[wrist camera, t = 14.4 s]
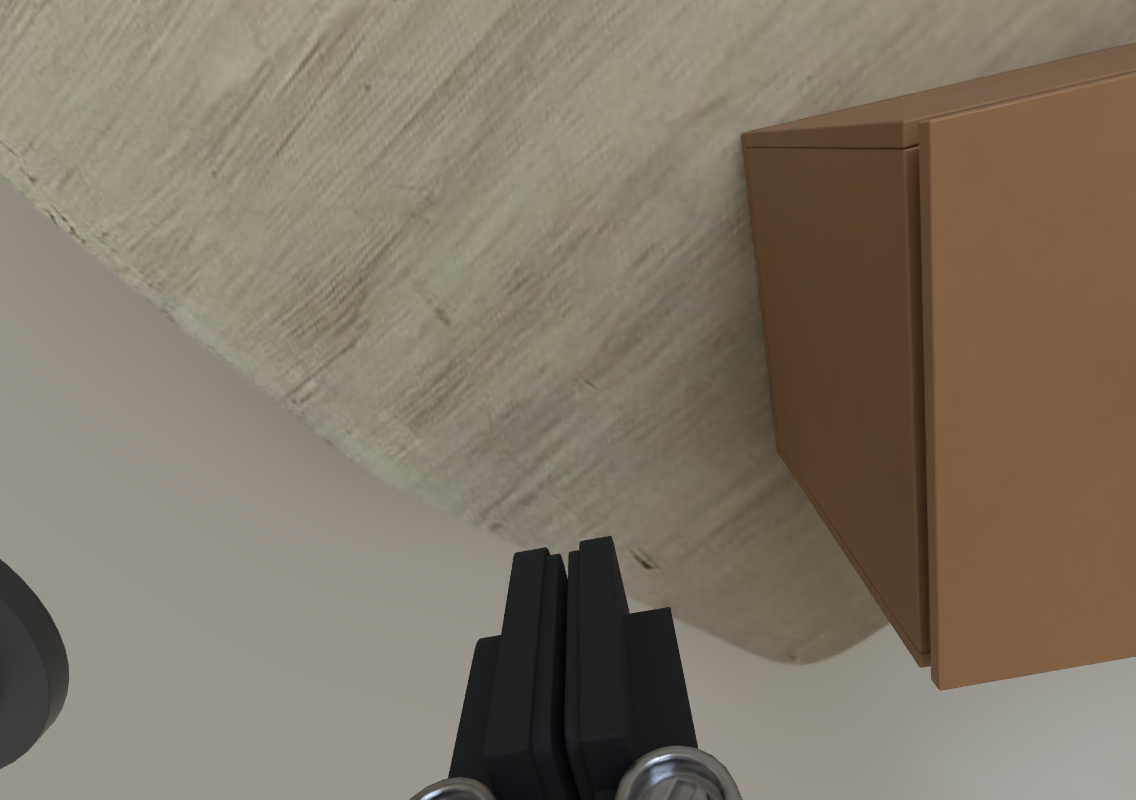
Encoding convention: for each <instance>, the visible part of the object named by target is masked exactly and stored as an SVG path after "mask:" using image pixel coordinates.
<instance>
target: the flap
mask: <svg viewBox="0 0 1136 800" xmlns="http://www.w3.org/2000/svg"><path fill="white" fill-rule="evenodd" d="M918 128H919V171H920V214H921V257H922V300H923V344H924V387H925V430H926V473H927V516H928V559H929V602H930V645H931V679H932V681H933V682H934V683H935V685H936V686H937V688H938V689H939V690H946V689H952V688H958V687H963V686H969V685H975V684H981V683H986V682H992V681H997V680H1003V679H1009V678H1015V677H1021V676H1026V675H1032V674H1038V673H1044V672H1049V671H1055V670H1060V669H1067V668H1072V667H1078V666H1084V665H1090V664H1095V663H1101V662H1107V661H1112V660H1118V659H1124V658H1130V657H1136V72H1134V73H1129V74H1125V75H1120V76H1116V77H1112V78H1107V79H1103V80H1099V81H1094V82H1090V83H1085V84H1081V85H1077V86H1072V87H1068V88H1064V89H1059V90H1055V91H1050V92H1046V93H1042V94H1037V95H1033V96H1029V97H1024V98H1020V99H1015V100H1011V101H1007V102H1002V103H998V104H993V105H989V106H985V107H980V108H976V109H972V110H967V111H963V112H958V113H954V114H950V115H945V116H941V117H937V118H932V119H928V120H923V121H921V122H919V124H918Z"/></svg>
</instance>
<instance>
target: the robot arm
mask: <svg viewBox="0 0 1136 800" xmlns="http://www.w3.org/2000/svg"><path fill="white" fill-rule="evenodd" d="M410 800H742V797H741V796H740V793H739V790H738V788H737V785H736V783H735V781H734V780H733V778H732V776H731V775H730V773H729V772H728V770H727V768H726V767H725V766H724V765H723V764H722V763H720V762H719V761H718V760H717V759H716V758H715V757H713V756H712V755H710V754H708V753H706V752H704V751H701V750H699V749H698V745H697V740H696V735H695V730H694V725H693V720H692V715H691V709H690V704H689V700H688V694H687V689H686V684H685V679H684V674H683V669H682V664H681V659H680V654H679V649H678V644H677V639H676V634H675V629H674V624H673V619H672V614H671V609H670V607H667V608H661V609H655V610H649V611H643V612H637V613H631V614H630V613H629V608H628V604H627V600H626V595H625V591H624V586H623V582H622V578H621V573H620V569H619V564H618V560H617V556H616V551H615V547H614V543H613V539H612V536H607V537H601V538H595V539H590V540H584V541H580V545H579V550H577V551H571V552H569V561H568V578H567V575H566V571H565V567H564V563H563V560H562V557H561V555H560V554H554V555H550V553H549V550H548V549H547V548H546V547H545V548H539V549H534V550H528V551H523V552H517V553H515V554H514V558H513V564H512V570H511V576H510V583H509V589H508V595H507V601H506V608H505V614H504V621H503V626H502V633H501V635H498V636H492V637H486V638H481V639H479V640H478V642H477V644H476V647H475V651H474V656H473V660H472V665H471V670H470V675H469V680H468V685H467V689H466V694H465V699H464V704H463V709H462V713H461V719H460V723H459V728H458V733H457V738H456V742H455V747H454V752H453V757H452V762H451V767H450V771H449V776H448V779H444V780H441V781H439V782H437V783H434V784H432V785H430V786H427V787H426V788H424V789H423V790H422V791H420V792H419V793H418V794H416V795H415V796H413V797H412V798H411V799H410Z"/></svg>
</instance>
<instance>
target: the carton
mask: <svg viewBox="0 0 1136 800" xmlns="http://www.w3.org/2000/svg"><path fill="white" fill-rule="evenodd" d="M1134 72H1136V43H1133V44H1128V45H1122V46H1117V47H1113V48H1109V49H1104V50H1100V51H1096V52H1091V53H1087V54H1083V55H1078V56H1074V57H1070V58H1065V59H1061V60H1056V61H1052V62H1048V63H1043V64H1039V65H1035V66H1030V67H1026V68H1022V69H1017V70H1013V71H1009V72H1004V73H1000V74H996V75H991V76H987V77H983V78H978V79H974V80H970V81H965V82H961V83H957V84H952V85H948V86H944V87H939V88H935V89H930V90H926V91H922V92H917V93H913V94H909V95H904V96H900V97H896V98H891V99H887V100H883V101H878V102H874V103H870V104H865V105H861V106H857V107H852V108H848V109H844V110H839V111H835V112H831V113H826V114H822V115H817V116H813V117H809V118H804V119H800V120H796V121H791V122H787V123H783V124H778V125H774V126H770V127H765V128H761V129H757V130H752V131H748V132H744V133H742V135H741V136H742V144H743V153H744V162H745V171H746V180H747V188H748V197H749V206H750V215H751V224H752V232H753V241H754V250H755V259H756V268H757V276H758V285H759V294H760V303H761V312H762V320H763V329H764V338H765V347H766V356H767V364H768V373H769V382H770V391H771V400H772V409H773V417H774V426H775V435H776V444H777V452H778V453H779V455H780V456H781V458H782V459H783V461H784V462H785V464H786V465H787V467H788V468H789V470H790V471H791V473H792V475H793V476H794V478H795V479H796V481H797V482H798V484H799V485H800V487H801V488H802V490H803V491H804V493H805V494H806V496H807V497H808V499H809V500H810V502H811V503H812V505H813V506H814V508H815V509H816V511H817V512H818V514H819V515H820V517H821V518H822V520H823V522H824V523H825V525H826V526H827V528H828V529H829V531H830V532H831V534H832V535H833V537H834V538H835V540H836V541H837V543H838V544H839V546H840V547H841V549H842V550H843V552H844V553H845V555H846V556H847V558H848V559H849V561H850V562H851V564H852V566H853V567H854V569H855V570H856V572H857V573H858V575H859V576H860V578H861V579H862V581H863V582H864V584H865V585H866V587H867V588H868V590H869V591H870V593H871V594H872V596H873V597H874V599H875V600H876V602H877V603H878V605H879V606H880V608H881V609H882V611H883V613H884V614H885V616H886V617H887V619H888V620H889V622H890V623H891V625H892V626H893V628H894V629H895V631H896V632H897V634H898V635H899V637H900V638H901V640H902V641H903V643H904V644H905V646H906V647H907V649H908V650H909V652H910V653H911V655H912V656H913V658H914V660H915V661H916V662H917V664H918V666H919V667H928V666H931V645H930V602H929V559H928V516H927V473H926V430H925V387H924V344H923V300H922V257H921V214H920V171H919V128H918V124H919V122H921V121H923V120H928V119H932V118H937V117H941V116H945V115H950V114H954V113H958V112H963V111H967V110H972V109H976V108H980V107H985V106H989V105H993V104H998V103H1002V102H1007V101H1011V100H1015V99H1020V98H1024V97H1029V96H1033V95H1037V94H1042V93H1046V92H1050V91H1055V90H1059V89H1064V88H1068V87H1072V86H1077V85H1081V84H1085V83H1090V82H1094V81H1099V80H1103V79H1107V78H1112V77H1116V76H1120V75H1125V74H1129V73H1134Z"/></svg>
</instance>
